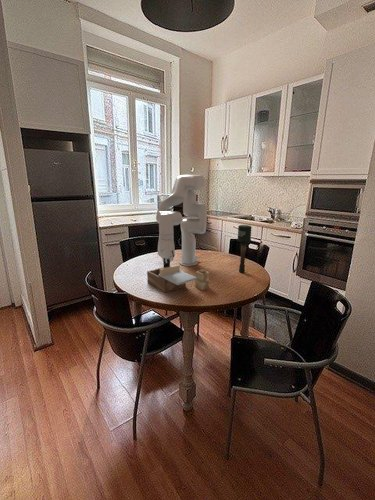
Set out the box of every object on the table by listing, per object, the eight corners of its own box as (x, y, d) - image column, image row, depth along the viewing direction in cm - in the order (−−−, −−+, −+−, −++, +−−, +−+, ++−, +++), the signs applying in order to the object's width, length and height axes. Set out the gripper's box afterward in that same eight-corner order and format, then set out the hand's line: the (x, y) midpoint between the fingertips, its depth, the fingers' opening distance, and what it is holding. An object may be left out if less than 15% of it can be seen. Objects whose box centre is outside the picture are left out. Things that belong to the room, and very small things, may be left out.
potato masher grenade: (233, 270, 165) (236, 224, 157) (246, 269, 166) (249, 224, 158) (236, 274, 157) (240, 227, 149) (250, 274, 158) (254, 227, 150)
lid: (177, 270, 142) (177, 263, 141) (196, 279, 130) (196, 271, 129) (158, 275, 134) (158, 268, 133) (177, 285, 122) (177, 277, 121)
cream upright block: (202, 284, 141) (202, 268, 139) (208, 287, 138) (209, 270, 135) (195, 287, 138) (195, 270, 136) (201, 289, 135) (202, 272, 132)
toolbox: (167, 277, 152) (167, 266, 150) (185, 286, 139) (185, 274, 138) (147, 282, 143) (147, 271, 141) (164, 292, 131) (164, 280, 129)
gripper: (152, 235, 136) (153, 267, 141) (168, 240, 125) (169, 274, 130) (164, 233, 141) (164, 264, 146) (180, 238, 130) (180, 271, 135)
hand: (166, 269), depth 138 cm, fingers closed
